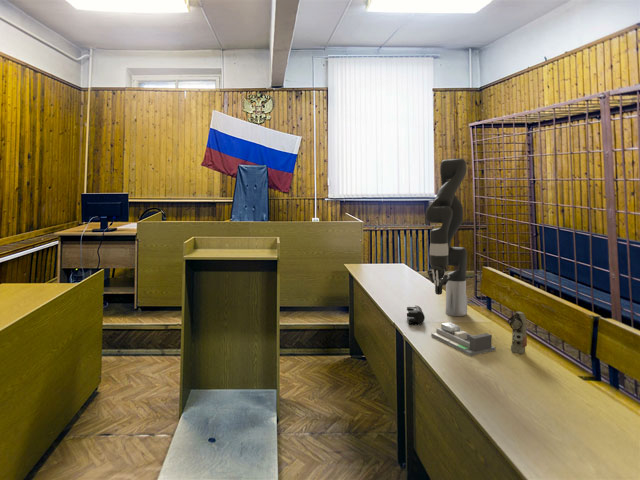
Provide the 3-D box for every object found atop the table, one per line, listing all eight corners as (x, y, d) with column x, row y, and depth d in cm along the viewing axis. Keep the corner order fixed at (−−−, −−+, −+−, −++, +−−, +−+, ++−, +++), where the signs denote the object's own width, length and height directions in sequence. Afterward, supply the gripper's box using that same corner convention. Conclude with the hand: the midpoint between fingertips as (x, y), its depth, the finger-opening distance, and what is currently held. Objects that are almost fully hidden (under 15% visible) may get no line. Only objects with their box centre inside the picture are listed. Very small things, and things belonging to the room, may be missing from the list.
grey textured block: (449, 331, 155) (449, 322, 155) (462, 337, 148) (462, 327, 148) (441, 332, 154) (441, 323, 153) (453, 338, 147) (453, 329, 146)
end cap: (424, 326, 167) (424, 311, 166) (408, 325, 168) (408, 311, 167) (421, 319, 177) (421, 305, 176) (406, 318, 178) (406, 305, 177)
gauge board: (454, 331, 158) (454, 317, 158) (495, 350, 138) (496, 334, 137) (431, 336, 154) (431, 321, 153) (470, 356, 134) (470, 339, 133)
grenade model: (502, 350, 138) (503, 311, 136) (520, 349, 138) (521, 310, 137) (513, 357, 131) (514, 316, 130) (531, 356, 132) (533, 315, 131)
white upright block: (463, 337, 148) (463, 330, 148) (466, 339, 146) (467, 332, 146) (454, 339, 146) (454, 332, 146) (458, 341, 145) (458, 334, 144)
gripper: (457, 255, 151) (456, 296, 152) (435, 251, 163) (435, 290, 165) (442, 256, 148) (441, 298, 150) (421, 252, 160) (421, 291, 162)
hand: (438, 294), depth 157 cm, fingers closed
